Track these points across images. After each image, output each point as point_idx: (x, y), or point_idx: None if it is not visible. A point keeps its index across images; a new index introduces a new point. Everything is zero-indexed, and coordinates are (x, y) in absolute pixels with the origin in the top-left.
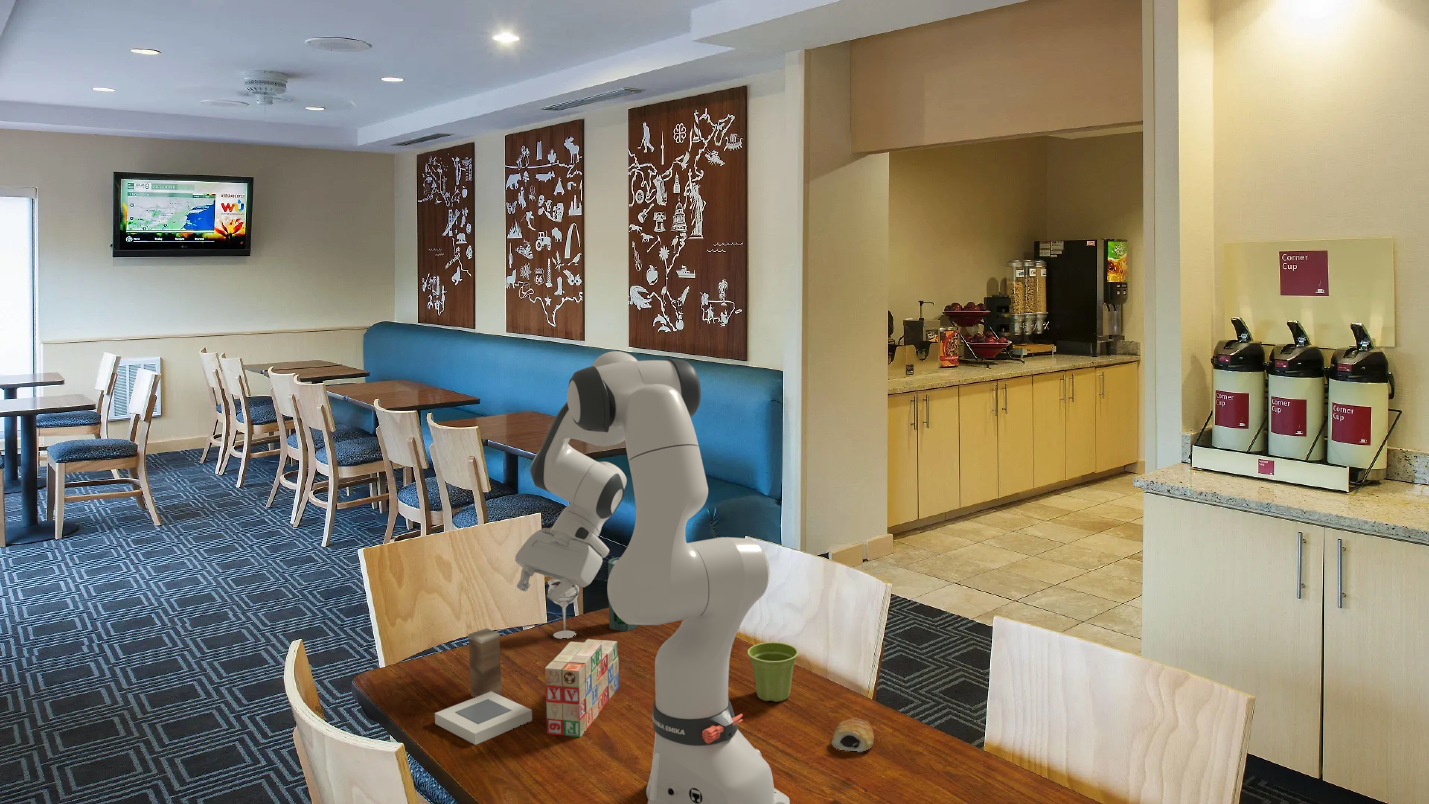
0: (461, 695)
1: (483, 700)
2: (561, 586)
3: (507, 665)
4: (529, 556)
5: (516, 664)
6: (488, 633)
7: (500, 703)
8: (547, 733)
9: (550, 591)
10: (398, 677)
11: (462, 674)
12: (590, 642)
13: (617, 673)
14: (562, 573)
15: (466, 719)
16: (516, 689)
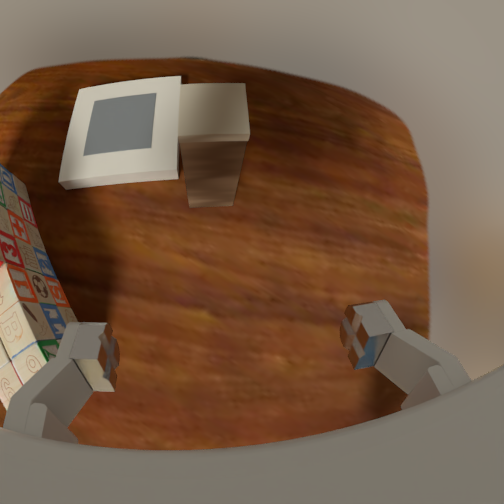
0: (245, 158)
1: (154, 140)
2: (31, 385)
3: (313, 301)
4: (499, 423)
5: (304, 319)
6: (204, 115)
7: (119, 155)
8: (24, 184)
9: (93, 344)
10: (381, 140)
11: (332, 211)
12: (36, 369)
13: None
14: (14, 441)
15: (121, 95)
16: (189, 243)
